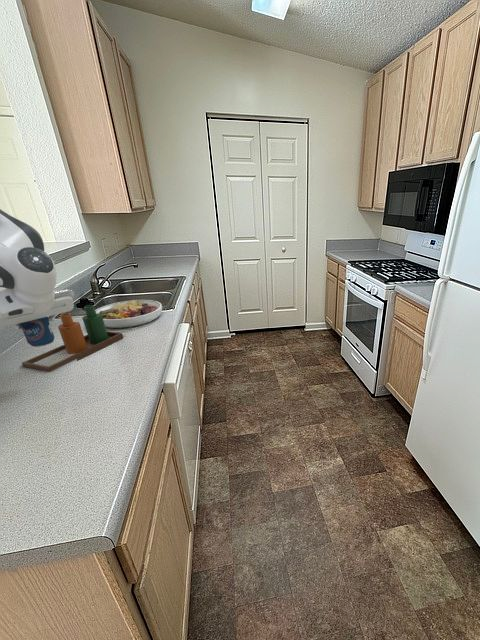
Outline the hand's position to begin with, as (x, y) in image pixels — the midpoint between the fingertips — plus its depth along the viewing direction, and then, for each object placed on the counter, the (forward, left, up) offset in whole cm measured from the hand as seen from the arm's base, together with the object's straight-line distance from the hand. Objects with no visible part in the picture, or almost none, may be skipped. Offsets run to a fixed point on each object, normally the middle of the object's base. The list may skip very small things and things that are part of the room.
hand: (33, 323), depth 101 cm
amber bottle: (+5, +17, -18) cm, 25 cm away
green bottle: (+13, +24, -18) cm, 33 cm away
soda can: (0, -1, -7) cm, 7 cm away
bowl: (+24, +49, -18) cm, 58 cm away
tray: (+5, +17, -18) cm, 25 cm away
